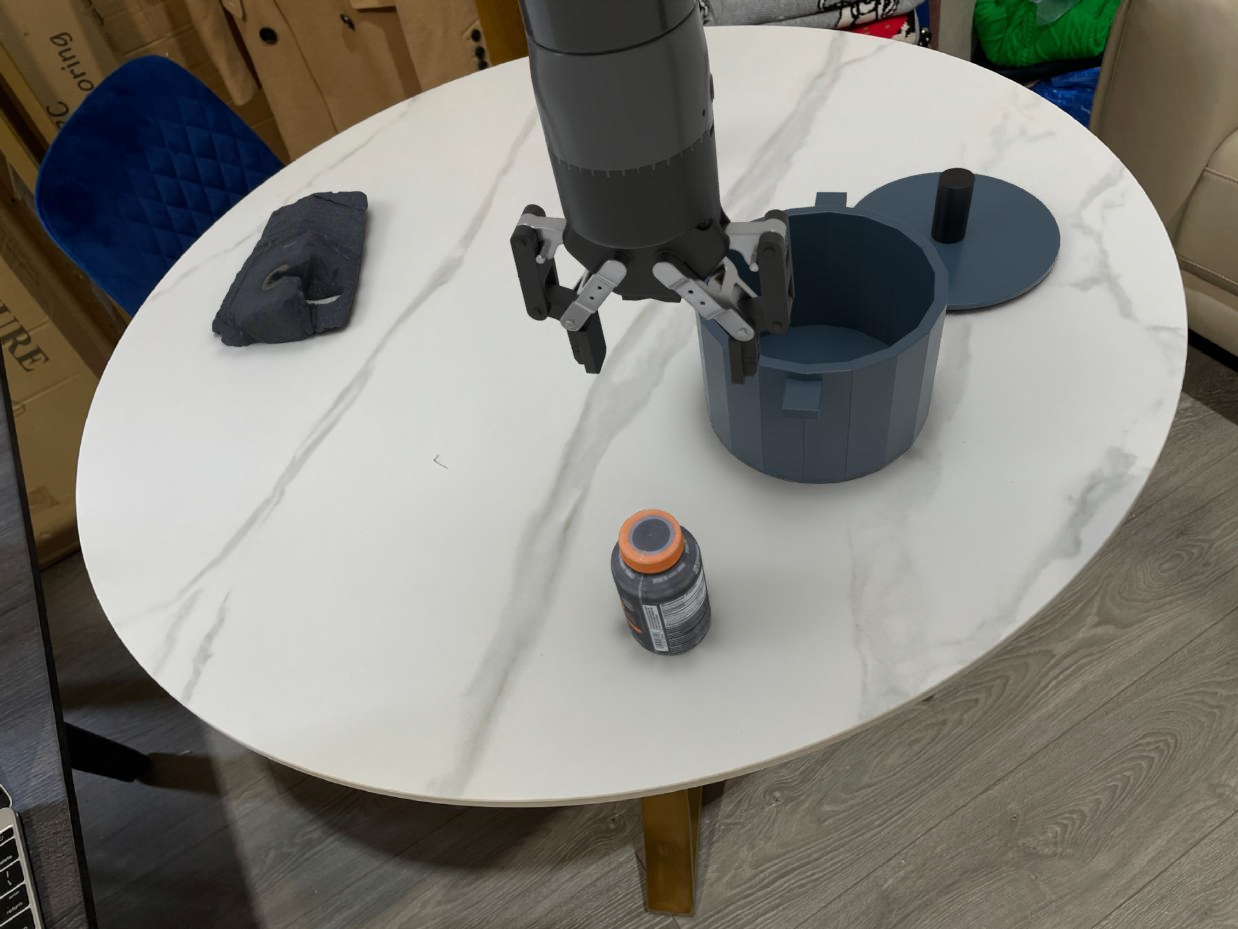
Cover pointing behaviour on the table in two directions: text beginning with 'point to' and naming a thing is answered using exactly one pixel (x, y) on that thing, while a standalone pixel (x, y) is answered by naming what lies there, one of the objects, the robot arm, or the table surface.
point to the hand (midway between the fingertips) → (668, 368)
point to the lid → (975, 231)
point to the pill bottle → (661, 583)
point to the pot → (835, 349)
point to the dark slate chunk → (297, 272)
